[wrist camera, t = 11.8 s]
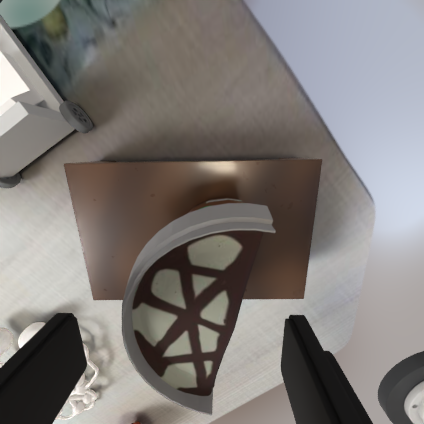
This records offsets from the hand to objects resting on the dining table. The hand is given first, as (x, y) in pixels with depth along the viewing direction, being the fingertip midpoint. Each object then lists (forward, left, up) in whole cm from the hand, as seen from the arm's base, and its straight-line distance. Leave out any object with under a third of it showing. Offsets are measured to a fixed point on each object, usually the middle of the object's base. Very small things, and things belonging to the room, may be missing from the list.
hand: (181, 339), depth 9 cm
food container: (0, 0, -11) cm, 11 cm away
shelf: (0, 0, -16) cm, 16 cm away
